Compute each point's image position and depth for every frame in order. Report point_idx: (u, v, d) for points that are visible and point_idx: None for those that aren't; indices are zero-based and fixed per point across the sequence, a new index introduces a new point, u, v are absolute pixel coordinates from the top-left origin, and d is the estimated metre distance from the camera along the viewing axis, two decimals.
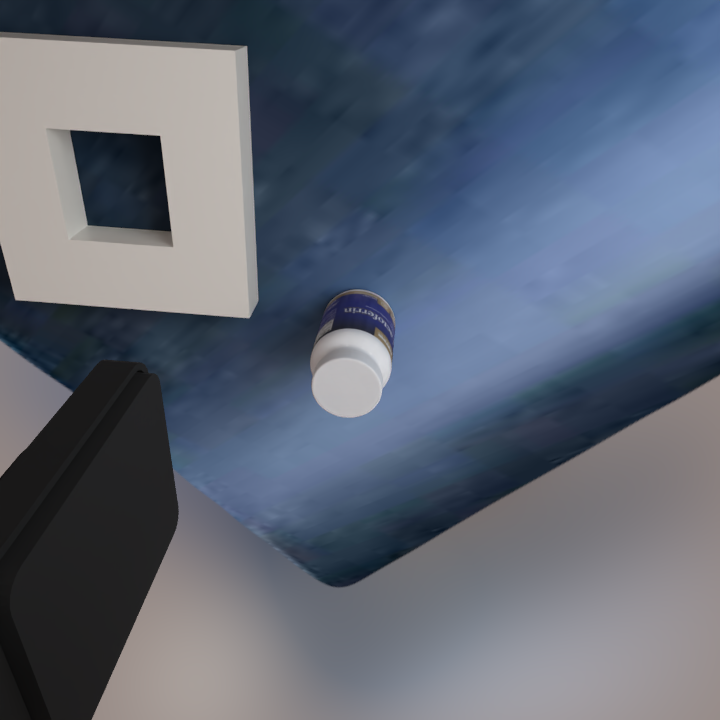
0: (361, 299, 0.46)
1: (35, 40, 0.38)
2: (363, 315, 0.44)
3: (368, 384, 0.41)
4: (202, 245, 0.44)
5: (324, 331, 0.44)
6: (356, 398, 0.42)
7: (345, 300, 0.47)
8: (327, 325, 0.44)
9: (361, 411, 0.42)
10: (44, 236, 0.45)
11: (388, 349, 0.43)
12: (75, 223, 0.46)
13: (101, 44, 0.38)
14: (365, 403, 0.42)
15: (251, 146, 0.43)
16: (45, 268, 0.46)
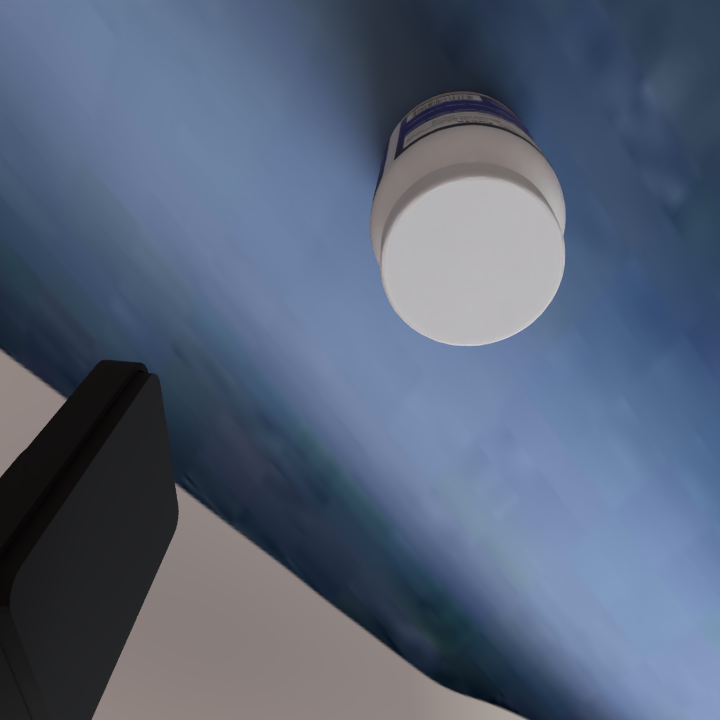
0: None
1: None
2: None
3: (483, 319, 0.17)
4: None
5: (543, 155, 0.18)
6: (442, 290, 0.16)
7: None
8: None
9: (402, 301, 0.17)
10: None
11: None
12: None
13: None
14: (427, 311, 0.17)
15: None
16: None
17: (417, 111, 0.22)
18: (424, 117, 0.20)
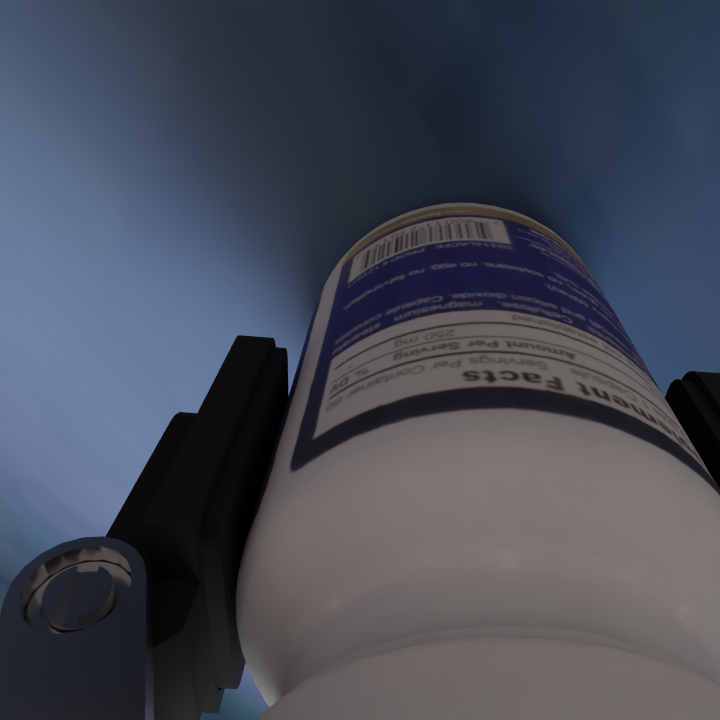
0: None
1: None
2: None
3: None
4: None
5: (693, 449, 0.07)
6: None
7: None
8: (679, 423, 0.07)
9: None
10: None
11: None
12: None
13: None
14: None
15: None
16: None
17: (372, 255, 0.10)
18: (381, 297, 0.09)
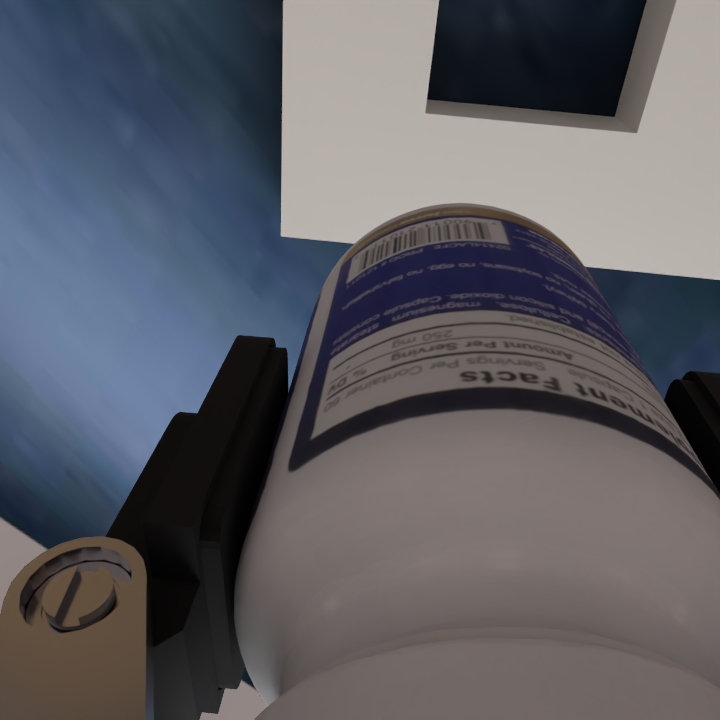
0: None
1: None
2: None
3: None
4: (425, 173, 0.24)
5: (691, 450, 0.07)
6: None
7: None
8: (676, 423, 0.07)
9: None
10: None
11: None
12: None
13: None
14: None
15: None
16: None
17: (371, 255, 0.10)
18: (380, 297, 0.09)
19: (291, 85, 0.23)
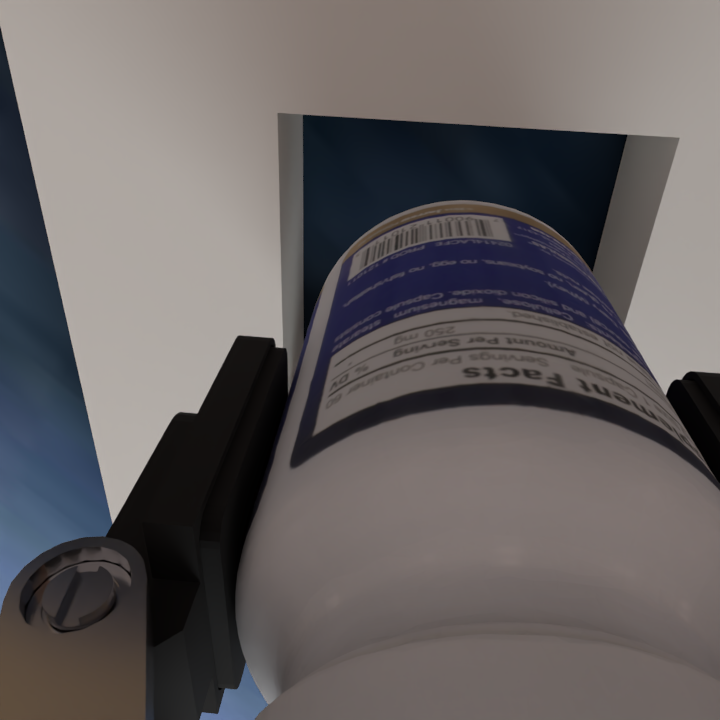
0: None
1: None
2: None
3: None
4: None
5: (694, 446, 0.07)
6: None
7: None
8: (679, 420, 0.07)
9: None
10: (276, 0, 0.11)
11: None
12: None
13: None
14: None
15: None
16: None
17: (372, 252, 0.10)
18: (381, 294, 0.09)
19: (95, 394, 0.16)
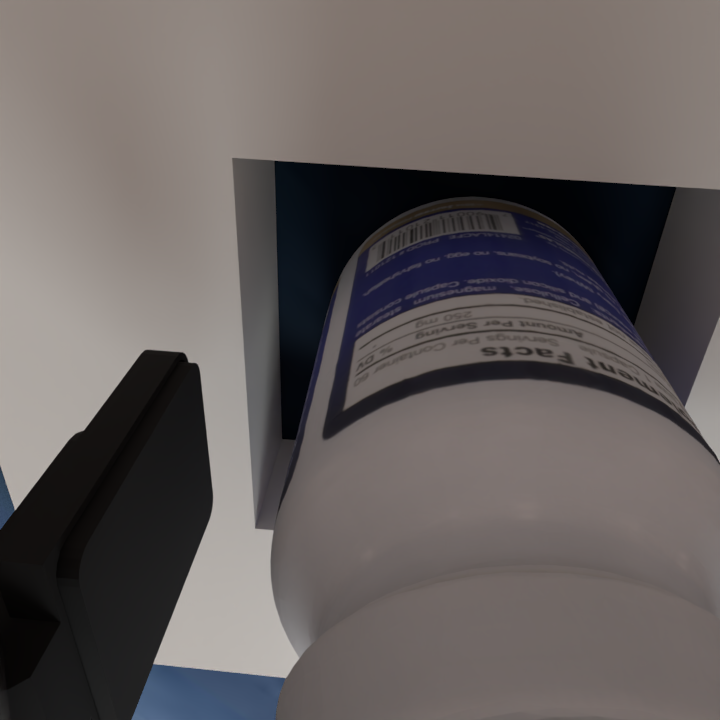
0: None
1: None
2: None
3: None
4: (272, 596, 0.14)
5: (691, 420, 0.07)
6: None
7: None
8: None
9: None
10: (226, 10, 0.08)
11: None
12: None
13: None
14: None
15: None
16: None
17: (388, 245, 0.11)
18: (400, 284, 0.09)
19: (23, 488, 0.13)
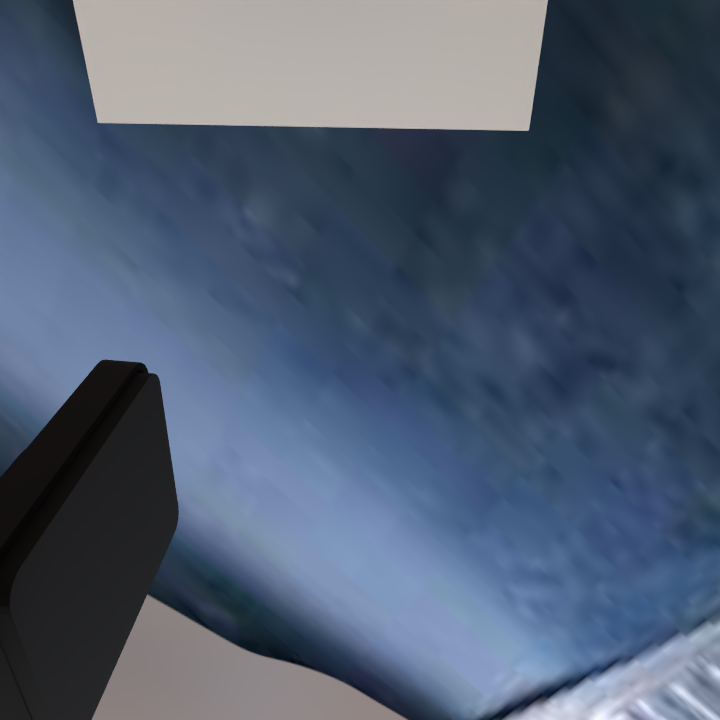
0: None
1: None
2: None
3: None
4: (219, 43, 0.25)
5: None
6: None
7: None
8: None
9: None
10: None
11: None
12: None
13: None
14: None
15: None
16: None
17: None
18: None
19: None
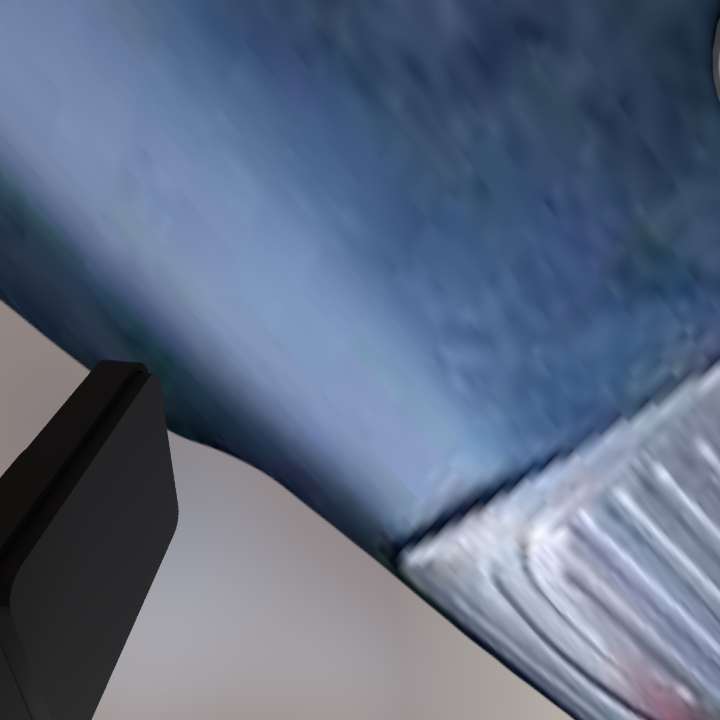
0: None
1: None
2: None
3: None
4: None
5: None
6: None
7: None
8: None
9: None
10: None
11: None
12: None
13: None
14: None
15: None
16: None
17: None
18: None
19: None
